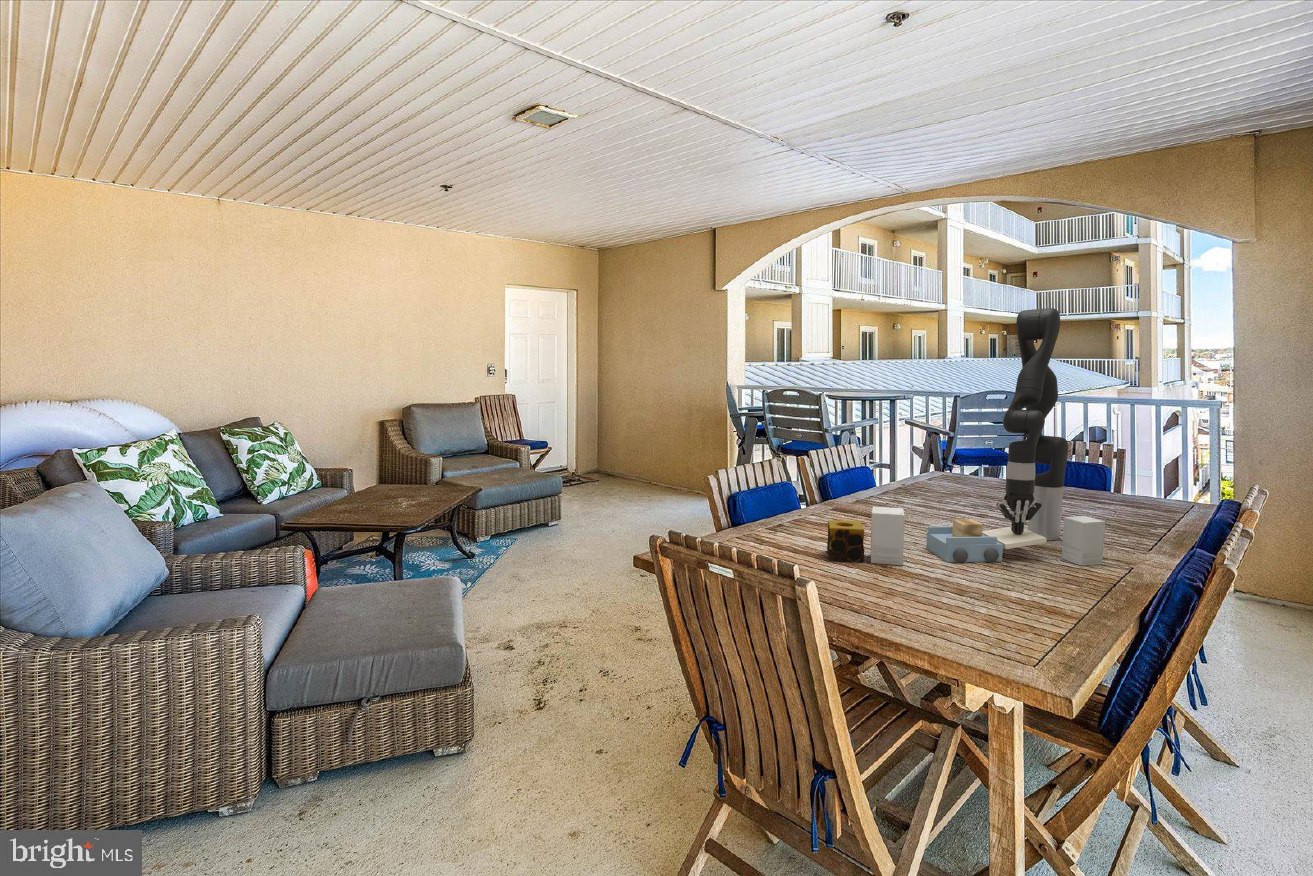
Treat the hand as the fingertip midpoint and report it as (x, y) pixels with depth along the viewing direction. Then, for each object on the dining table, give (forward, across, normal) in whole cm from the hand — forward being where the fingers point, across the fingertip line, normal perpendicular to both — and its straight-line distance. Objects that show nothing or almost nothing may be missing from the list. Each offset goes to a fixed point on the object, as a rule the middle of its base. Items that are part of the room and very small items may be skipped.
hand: (1017, 533), depth 196 cm
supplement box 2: (+6, -15, +8) cm, 18 cm away
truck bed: (+6, +16, 0) cm, 17 cm away
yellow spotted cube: (+6, +52, 0) cm, 52 cm away
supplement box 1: (+6, +41, +4) cm, 42 cm away
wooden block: (+1, +15, 0) cm, 15 cm away
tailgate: (+2, +8, 0) cm, 8 cm away
